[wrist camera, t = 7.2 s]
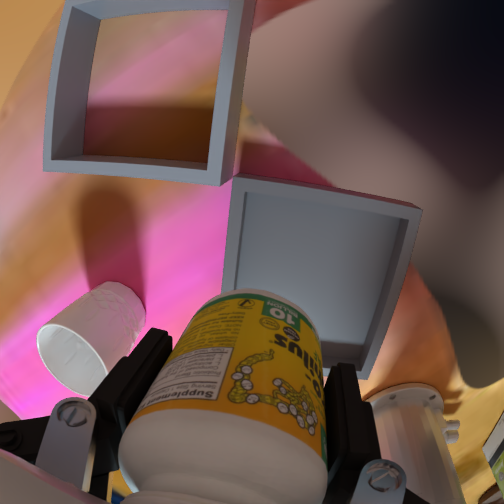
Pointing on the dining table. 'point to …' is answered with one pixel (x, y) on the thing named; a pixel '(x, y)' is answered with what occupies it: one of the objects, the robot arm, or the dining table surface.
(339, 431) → the robot arm
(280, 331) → the supplement bottle
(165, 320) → the dining table surface
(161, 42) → the dining table surface
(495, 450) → the tea box
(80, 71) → the gray square frame
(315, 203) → the tray
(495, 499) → the plant saucer
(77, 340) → the white cup
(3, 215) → the dining table surface
